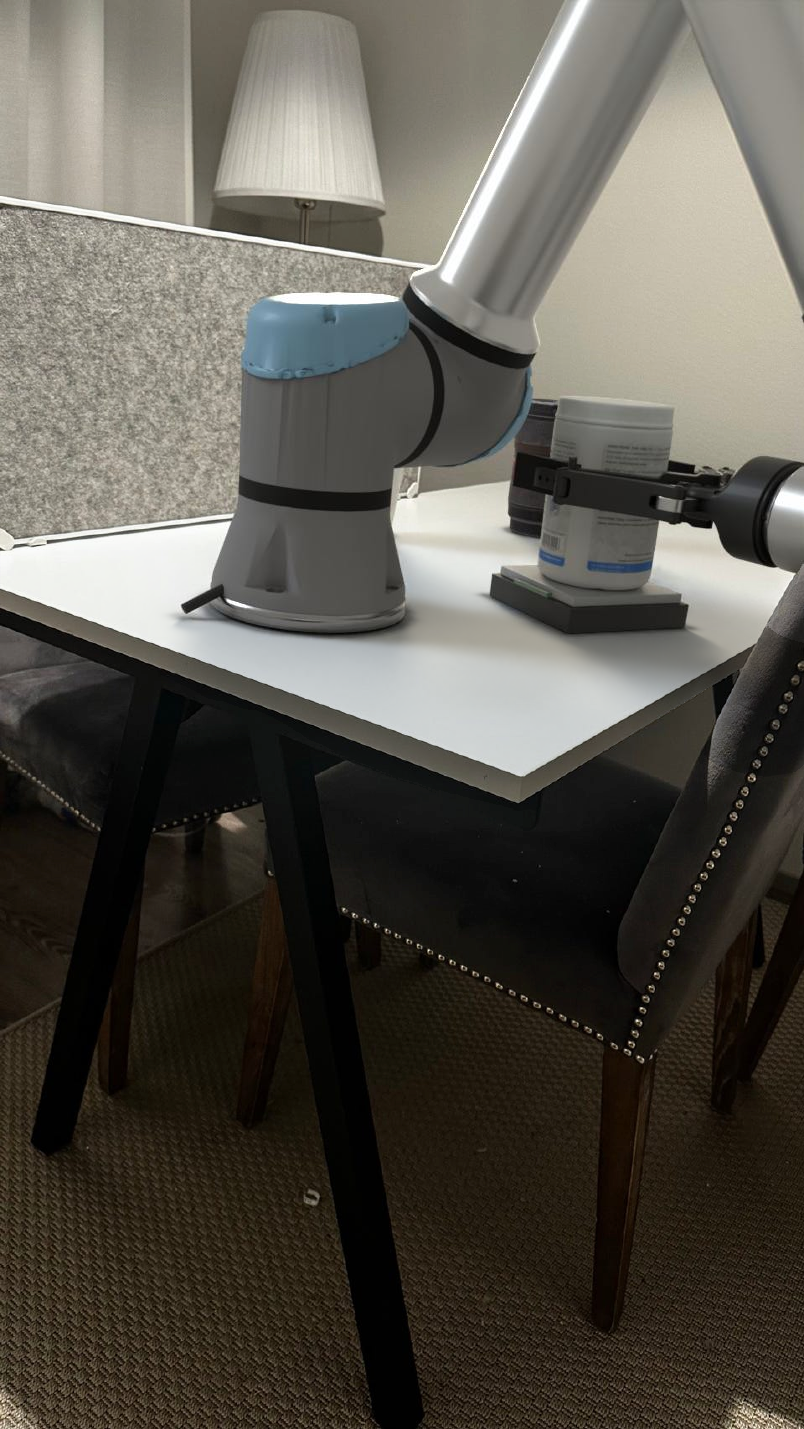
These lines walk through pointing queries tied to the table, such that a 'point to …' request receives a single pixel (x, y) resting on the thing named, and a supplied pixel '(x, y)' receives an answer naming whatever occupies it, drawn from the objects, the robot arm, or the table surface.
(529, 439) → the camera lens
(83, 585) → the table surface
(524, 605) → the scale
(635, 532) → the supplement tub
